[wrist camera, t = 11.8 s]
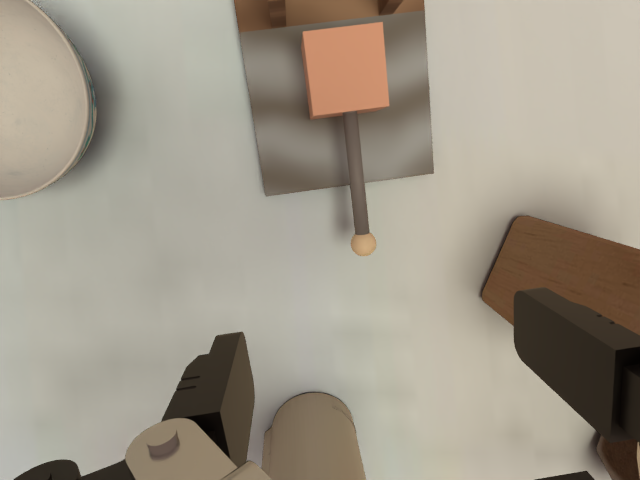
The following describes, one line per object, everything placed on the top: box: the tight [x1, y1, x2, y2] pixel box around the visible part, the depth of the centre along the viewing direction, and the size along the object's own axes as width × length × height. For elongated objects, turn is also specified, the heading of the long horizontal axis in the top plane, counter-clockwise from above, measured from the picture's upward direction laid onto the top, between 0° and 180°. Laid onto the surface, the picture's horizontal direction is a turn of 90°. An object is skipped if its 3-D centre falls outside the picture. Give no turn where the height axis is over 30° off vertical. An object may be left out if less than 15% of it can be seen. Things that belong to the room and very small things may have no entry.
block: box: [482, 216, 640, 335], centre depth 33 cm, size 10×10×20 cm
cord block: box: [301, 22, 389, 256], centre depth 34 cm, size 18×6×5 cm, turn 7°
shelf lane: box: [234, 0, 434, 196], centre depth 31 cm, size 26×16×9 cm, turn 7°
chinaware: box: [0, 0, 97, 200], centre depth 31 cm, size 15×15×8 cm
